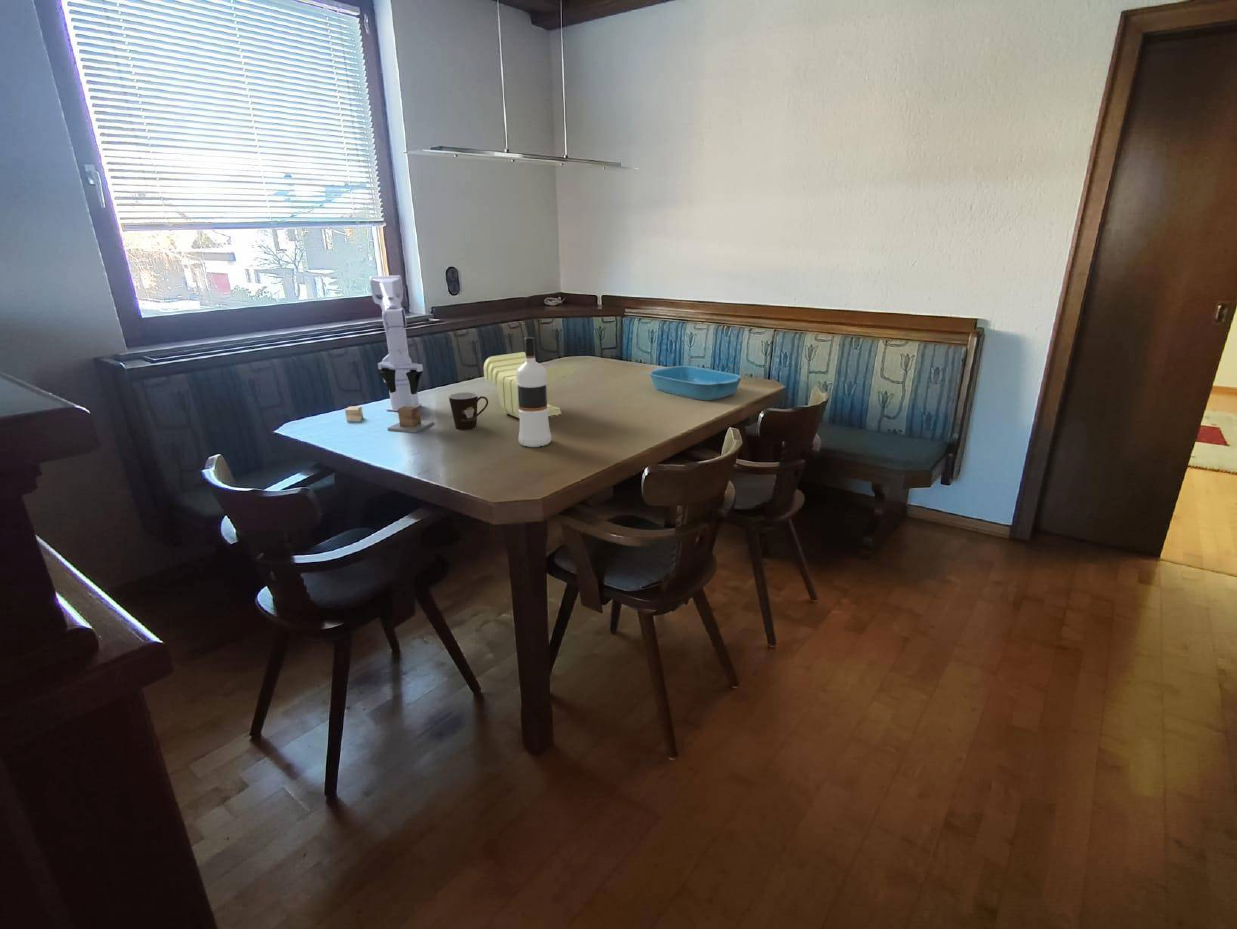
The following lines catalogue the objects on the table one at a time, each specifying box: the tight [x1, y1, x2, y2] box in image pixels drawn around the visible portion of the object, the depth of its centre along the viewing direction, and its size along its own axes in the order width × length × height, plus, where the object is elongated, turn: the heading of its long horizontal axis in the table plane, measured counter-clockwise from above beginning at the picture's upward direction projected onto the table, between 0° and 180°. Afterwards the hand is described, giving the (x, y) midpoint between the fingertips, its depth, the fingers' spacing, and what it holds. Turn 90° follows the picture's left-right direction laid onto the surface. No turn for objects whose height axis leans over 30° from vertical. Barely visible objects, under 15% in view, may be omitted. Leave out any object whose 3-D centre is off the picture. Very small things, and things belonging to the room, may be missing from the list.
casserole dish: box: [649, 365, 742, 401], centre depth 241 cm, size 37×22×7 cm, turn 41°
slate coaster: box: [387, 419, 435, 434], centre depth 202 cm, size 10×10×1 cm
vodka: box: [516, 336, 552, 448], centre depth 180 cm, size 9×9×30 cm
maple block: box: [344, 405, 364, 422], centre depth 211 cm, size 4×4×4 cm
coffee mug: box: [448, 391, 489, 431], centre depth 200 cm, size 12×9×10 cm
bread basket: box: [483, 351, 576, 419], centre depth 212 cm, size 30×16×18 cm, turn 39°
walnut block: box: [397, 405, 422, 427], centre depth 201 cm, size 4×4×6 cm
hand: (403, 393), depth 203 cm, fingers open, 7 cm apart
